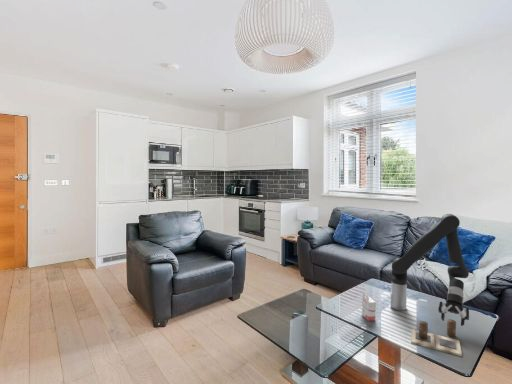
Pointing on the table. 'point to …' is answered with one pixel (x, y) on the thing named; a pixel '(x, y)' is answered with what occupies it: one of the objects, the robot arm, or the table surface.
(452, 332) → the walnut pin
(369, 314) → the ink cartridge box
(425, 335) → the pin
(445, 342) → the board
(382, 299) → the table surface
